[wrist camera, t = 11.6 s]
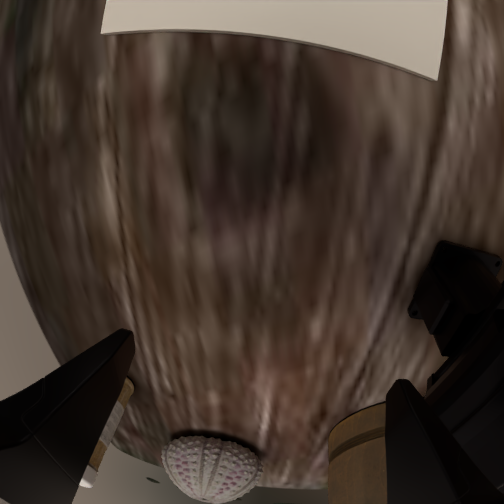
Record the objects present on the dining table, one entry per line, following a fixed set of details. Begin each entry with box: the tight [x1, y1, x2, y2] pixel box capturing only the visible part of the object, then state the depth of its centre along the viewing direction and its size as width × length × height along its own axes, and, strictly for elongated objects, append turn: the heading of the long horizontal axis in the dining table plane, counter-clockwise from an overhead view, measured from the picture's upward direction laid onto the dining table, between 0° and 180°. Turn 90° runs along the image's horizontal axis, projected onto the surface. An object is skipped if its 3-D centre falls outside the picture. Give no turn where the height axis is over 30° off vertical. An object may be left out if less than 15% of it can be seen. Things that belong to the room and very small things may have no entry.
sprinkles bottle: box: [79, 377, 134, 488], centre depth 26 cm, size 5×5×14 cm
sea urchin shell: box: [161, 436, 263, 504], centre depth 33 cm, size 13×14×8 cm
